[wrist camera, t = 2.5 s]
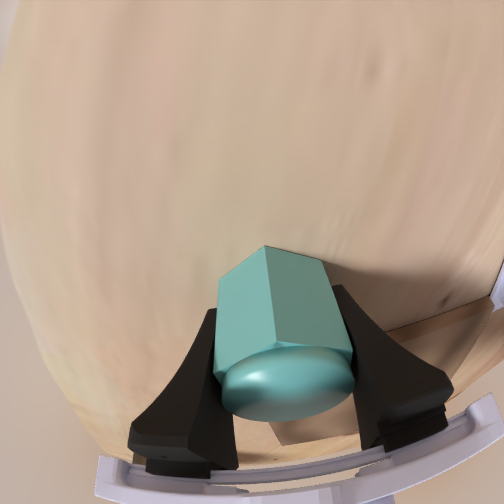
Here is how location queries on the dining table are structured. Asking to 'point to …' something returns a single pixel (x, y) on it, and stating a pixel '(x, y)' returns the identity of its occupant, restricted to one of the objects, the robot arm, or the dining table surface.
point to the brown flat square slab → (417, 342)
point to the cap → (280, 339)
